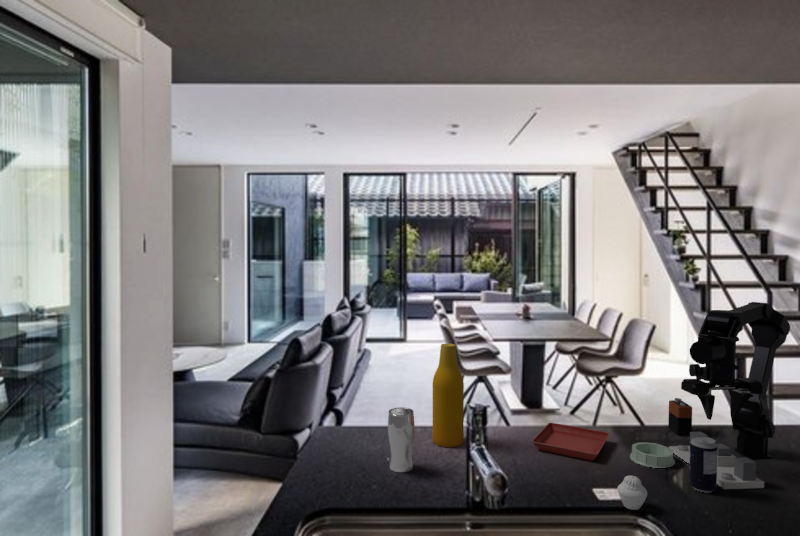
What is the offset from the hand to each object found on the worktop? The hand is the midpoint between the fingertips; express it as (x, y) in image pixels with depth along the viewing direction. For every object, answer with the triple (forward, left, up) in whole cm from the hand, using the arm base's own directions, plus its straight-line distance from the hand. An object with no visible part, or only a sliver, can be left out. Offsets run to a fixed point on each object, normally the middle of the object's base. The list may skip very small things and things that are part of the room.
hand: (720, 418), depth 138 cm
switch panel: (+2, 0, -13) cm, 13 cm away
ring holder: (+15, -6, -13) cm, 21 cm away
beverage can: (+12, +11, -13) cm, 21 cm away
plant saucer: (+33, -17, -14) cm, 39 cm away
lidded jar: (+33, +18, -13) cm, 40 cm away
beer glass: (+83, -6, -13) cm, 84 cm away
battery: (-5, -26, -13) cm, 29 cm away
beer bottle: (+68, -23, -13) cm, 73 cm away
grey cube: (0, 0, -10) cm, 10 cm away
